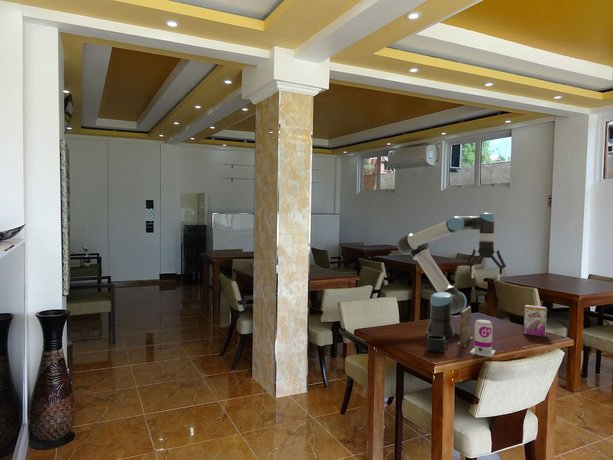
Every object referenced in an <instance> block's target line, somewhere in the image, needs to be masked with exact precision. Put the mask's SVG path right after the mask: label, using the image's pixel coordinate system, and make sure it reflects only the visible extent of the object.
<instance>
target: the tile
mask: <svg viewBox="0 0 613 460" xmlns="http://www.w3.org/2000/svg"><path fill="white" fill-rule="evenodd" d="M469 353H471V355H475V354H477V356H482V357H488V358H492V357H493V356H494V355H495V353H496V349H492V351H491V352H490V353H480V352H477V351H475V349H474V347H473V348H472V349H471V350H470V351H469Z"/></svg>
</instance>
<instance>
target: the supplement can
mask: <svg viewBox="0 0 613 460" xmlns="http://www.w3.org/2000/svg"><path fill="white" fill-rule="evenodd" d="M473 338H474V339H473V341H474V342H473V343H474V344H473V348H474V349H475V351H477V352H480V353H490V352H491V351H492V350H493V324H492V321H491V320H488V319H476V320H475V322H474V337H473Z"/></svg>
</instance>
